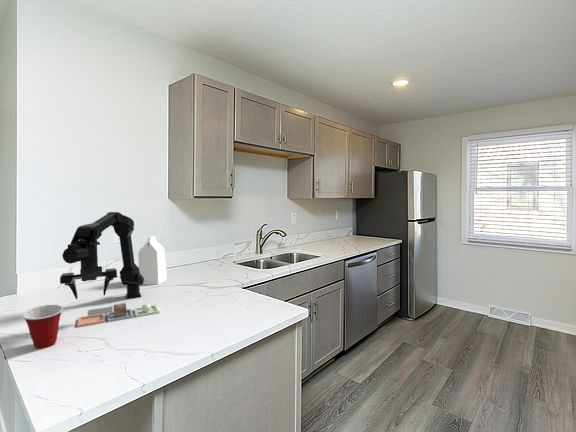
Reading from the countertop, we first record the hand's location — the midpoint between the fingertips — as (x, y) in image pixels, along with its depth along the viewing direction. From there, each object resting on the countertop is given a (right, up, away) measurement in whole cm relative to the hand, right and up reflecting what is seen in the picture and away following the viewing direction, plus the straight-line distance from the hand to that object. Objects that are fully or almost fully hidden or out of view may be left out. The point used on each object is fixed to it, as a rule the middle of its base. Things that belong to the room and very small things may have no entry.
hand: (90, 297), depth 127 cm
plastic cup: (-4, -12, -19) cm, 22 cm away
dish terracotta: (0, -10, +1) cm, 10 cm away
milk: (0, -6, +59) cm, 60 cm away
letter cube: (+9, -9, +6) cm, 14 cm away
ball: (+17, -9, +11) cm, 22 cm away
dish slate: (+9, -10, +6) cm, 14 cm away
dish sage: (+17, -9, +11) cm, 22 cm away
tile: (-2, -9, +11) cm, 14 cm away
